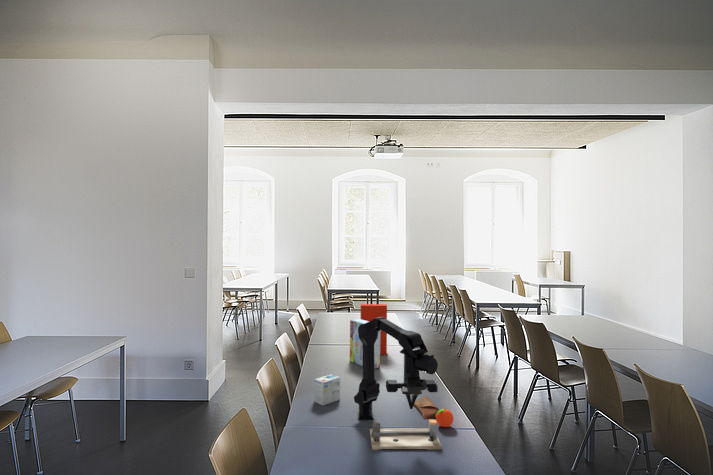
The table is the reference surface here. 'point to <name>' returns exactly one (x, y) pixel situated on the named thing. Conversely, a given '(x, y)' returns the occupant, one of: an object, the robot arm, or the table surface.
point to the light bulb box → (327, 389)
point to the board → (401, 438)
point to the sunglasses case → (426, 408)
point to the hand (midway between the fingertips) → (411, 408)
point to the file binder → (371, 313)
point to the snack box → (357, 346)
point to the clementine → (444, 417)
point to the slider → (433, 429)
